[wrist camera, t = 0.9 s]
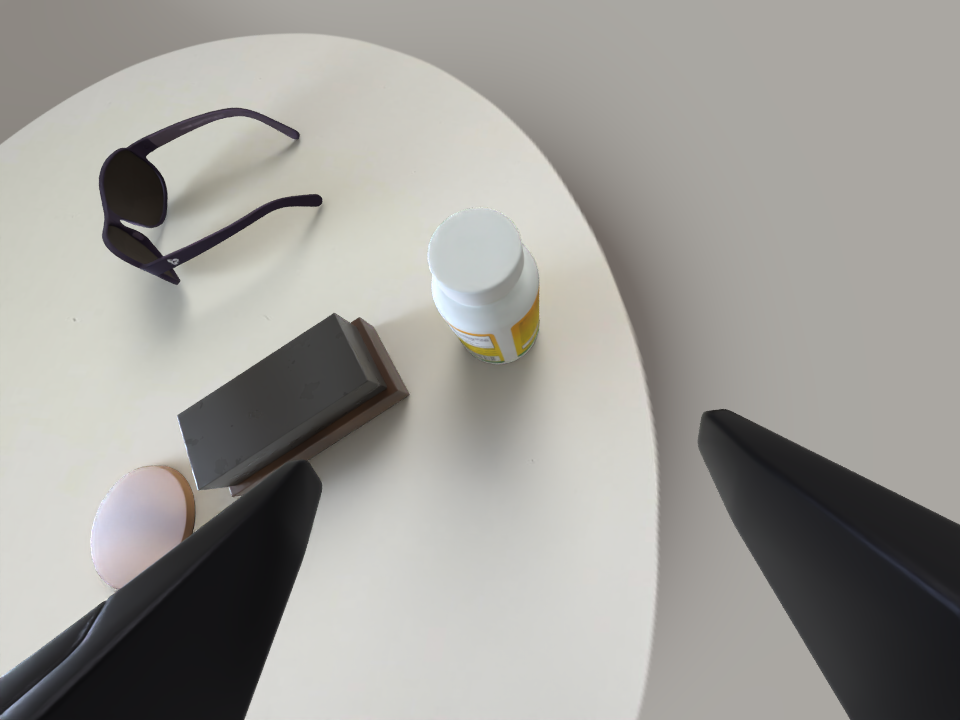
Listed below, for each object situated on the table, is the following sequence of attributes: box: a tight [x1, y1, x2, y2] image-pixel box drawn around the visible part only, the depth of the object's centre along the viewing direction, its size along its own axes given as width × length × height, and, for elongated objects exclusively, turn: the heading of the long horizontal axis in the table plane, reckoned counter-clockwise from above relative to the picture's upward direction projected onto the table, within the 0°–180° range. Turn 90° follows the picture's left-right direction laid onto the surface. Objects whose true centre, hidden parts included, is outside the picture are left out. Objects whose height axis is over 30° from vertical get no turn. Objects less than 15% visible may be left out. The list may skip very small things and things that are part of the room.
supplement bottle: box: [428, 207, 540, 364], centre depth 18 cm, size 5×5×10 cm
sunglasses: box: [99, 108, 322, 285], centre depth 28 cm, size 14×16×5 cm
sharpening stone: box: [177, 313, 410, 497], centre depth 22 cm, size 13×6×4 cm, turn 121°
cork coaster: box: [91, 465, 195, 589], centre depth 24 cm, size 8×8×1 cm
